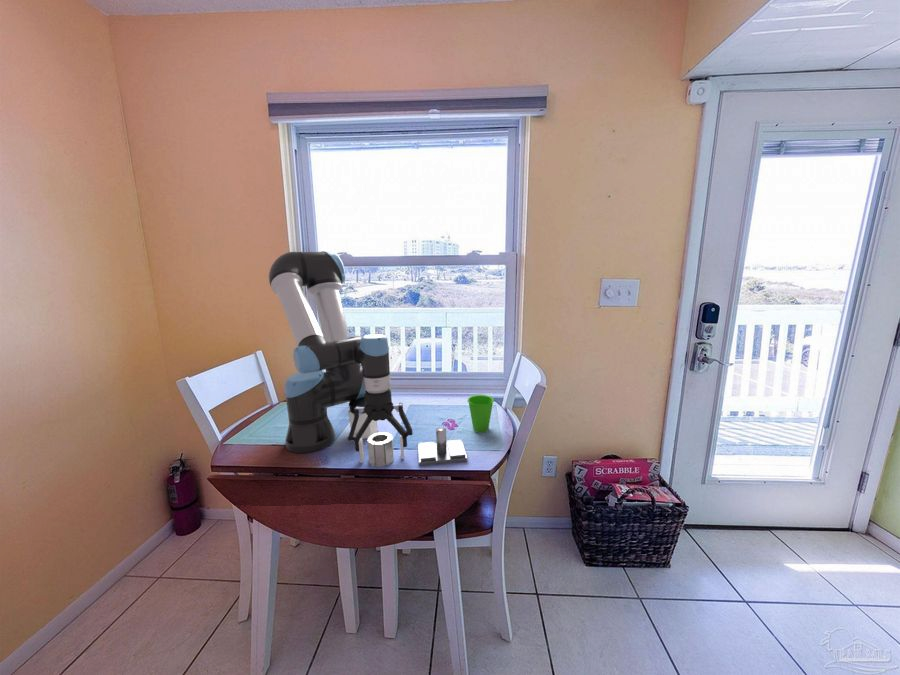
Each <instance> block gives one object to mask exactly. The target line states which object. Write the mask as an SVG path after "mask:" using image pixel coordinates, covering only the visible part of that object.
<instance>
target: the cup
mask: <svg viewBox="0 0 900 675" xmlns="http://www.w3.org/2000/svg"><path fill="white" fill-rule="evenodd" d="M494 402H495V399H494V398H493V397H492V396H490V395H487V394H475V395H471V396H469V397H468V398H467V403H468V404H469V411H470V417H471V422H472V428H473V431H474V432H476V433H482V434H483V433H486V432H488V430H489V428H490V423H491V422H490V421H491V417H492V411H493V410H492V409H493V403H494Z"/></svg>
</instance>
